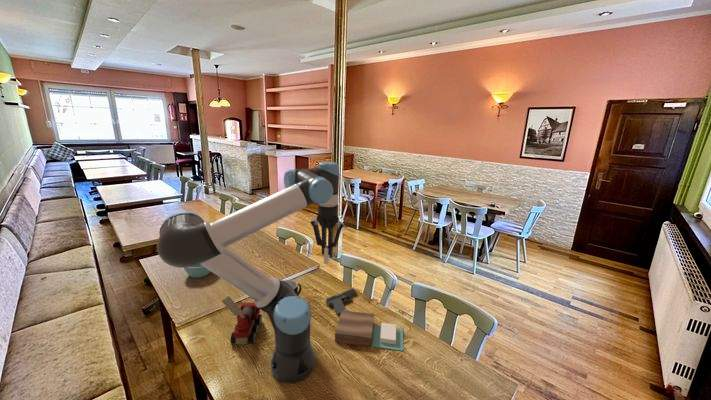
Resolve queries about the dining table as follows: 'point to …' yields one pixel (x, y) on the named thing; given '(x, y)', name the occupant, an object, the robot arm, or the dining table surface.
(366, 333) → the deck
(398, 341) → the mat
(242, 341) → the toy fire truck
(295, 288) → the mug
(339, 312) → the handgun
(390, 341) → the white rectangular block
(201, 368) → the dining table surface
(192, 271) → the bowl
